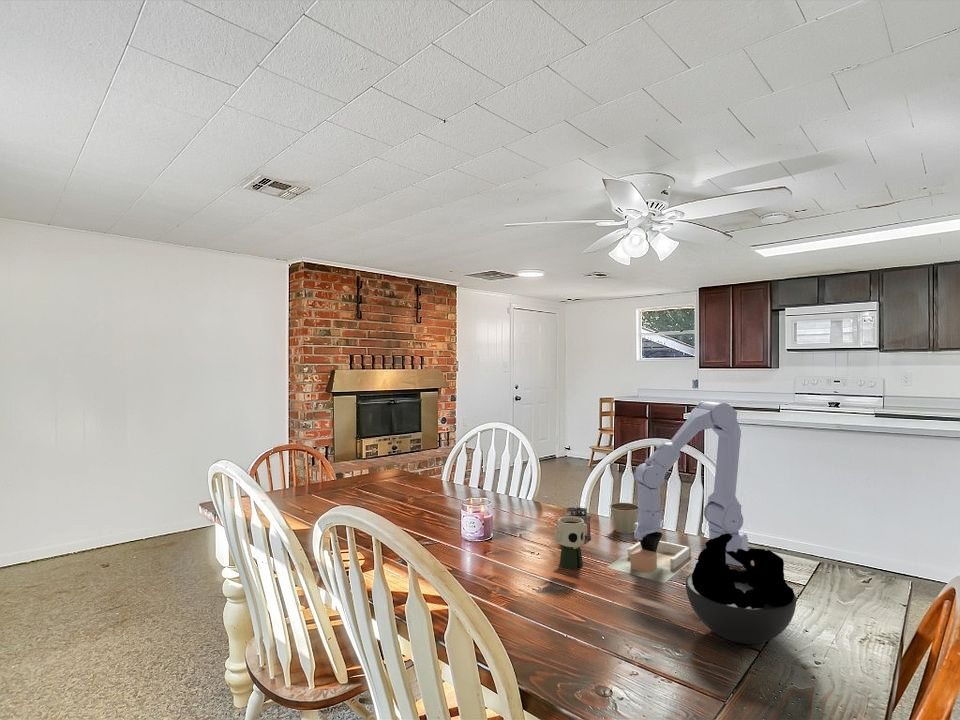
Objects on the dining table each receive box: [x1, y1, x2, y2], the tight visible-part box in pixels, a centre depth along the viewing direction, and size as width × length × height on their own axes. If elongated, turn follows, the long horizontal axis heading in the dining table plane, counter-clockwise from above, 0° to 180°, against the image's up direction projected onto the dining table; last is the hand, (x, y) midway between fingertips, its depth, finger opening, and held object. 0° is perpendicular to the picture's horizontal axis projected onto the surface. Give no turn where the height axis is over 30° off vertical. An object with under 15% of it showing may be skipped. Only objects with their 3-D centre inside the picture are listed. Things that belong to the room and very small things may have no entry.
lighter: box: [564, 505, 592, 541], centre depth 169 cm, size 8×3×10 cm, turn 84°
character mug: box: [553, 516, 587, 570], centre depth 146 cm, size 11×7×13 cm, turn 120°
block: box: [630, 548, 657, 573], centre depth 142 cm, size 5×5×4 cm
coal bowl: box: [684, 533, 797, 645], centre depth 108 cm, size 20×20×19 cm
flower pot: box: [609, 502, 638, 534], centre depth 174 cm, size 9×9×9 cm
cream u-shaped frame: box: [627, 540, 692, 569], centre depth 150 cm, size 13×12×2 cm
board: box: [605, 550, 697, 584], centre depth 146 cm, size 16×22×1 cm
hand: (649, 559), depth 145 cm, fingers closed
